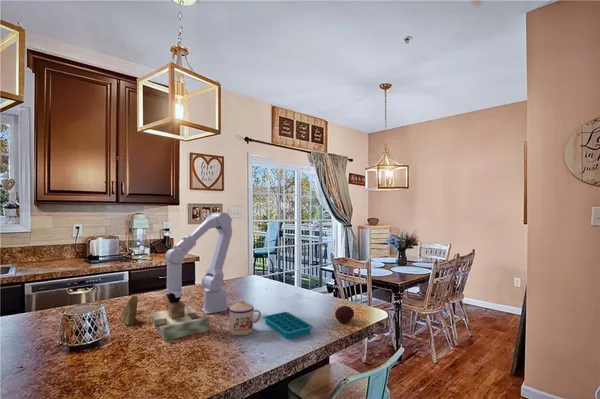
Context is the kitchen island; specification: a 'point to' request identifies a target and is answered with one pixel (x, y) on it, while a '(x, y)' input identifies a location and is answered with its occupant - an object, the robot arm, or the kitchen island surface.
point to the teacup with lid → (242, 318)
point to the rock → (130, 311)
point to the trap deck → (179, 324)
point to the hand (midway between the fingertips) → (174, 311)
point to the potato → (344, 313)
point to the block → (176, 310)
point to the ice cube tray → (287, 325)
